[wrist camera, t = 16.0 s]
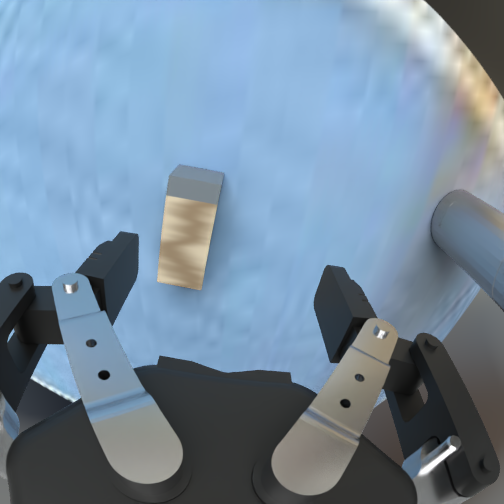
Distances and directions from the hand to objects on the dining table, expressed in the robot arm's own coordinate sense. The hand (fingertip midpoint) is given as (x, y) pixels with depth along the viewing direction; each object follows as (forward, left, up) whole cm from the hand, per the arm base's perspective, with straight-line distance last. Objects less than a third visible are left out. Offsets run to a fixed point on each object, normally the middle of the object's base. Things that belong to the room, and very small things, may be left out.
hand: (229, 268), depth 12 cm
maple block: (+1, +14, -19) cm, 23 cm away
